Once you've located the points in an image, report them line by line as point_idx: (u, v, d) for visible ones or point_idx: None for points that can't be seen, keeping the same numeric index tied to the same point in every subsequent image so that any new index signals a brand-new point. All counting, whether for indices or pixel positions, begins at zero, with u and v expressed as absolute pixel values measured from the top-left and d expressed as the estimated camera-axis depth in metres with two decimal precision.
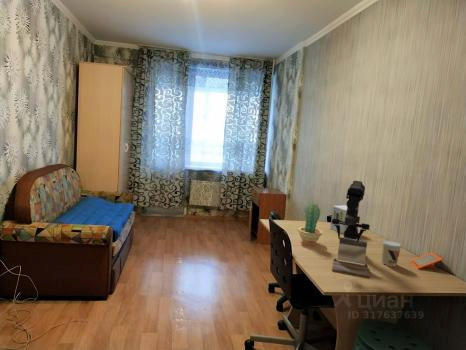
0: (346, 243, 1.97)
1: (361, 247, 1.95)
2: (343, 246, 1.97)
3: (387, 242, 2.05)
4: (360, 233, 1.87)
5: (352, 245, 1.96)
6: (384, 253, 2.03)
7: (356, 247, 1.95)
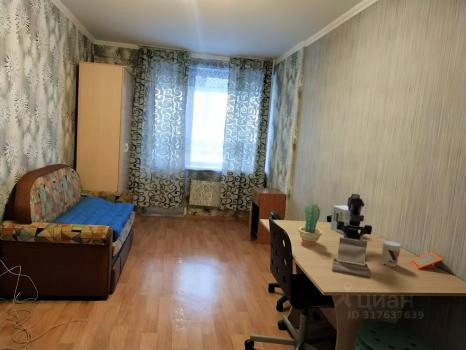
0: (346, 243, 1.97)
1: (361, 247, 1.95)
2: (343, 246, 1.97)
3: (387, 242, 2.05)
4: (361, 232, 2.01)
5: (352, 245, 1.96)
6: (384, 253, 2.03)
7: (356, 247, 1.96)
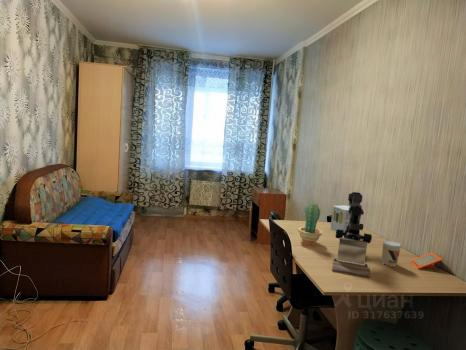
0: (346, 244, 1.96)
1: (361, 248, 1.94)
2: (343, 247, 1.97)
3: (387, 242, 2.05)
4: None
5: (352, 246, 1.95)
6: (384, 253, 2.03)
7: (356, 248, 1.95)
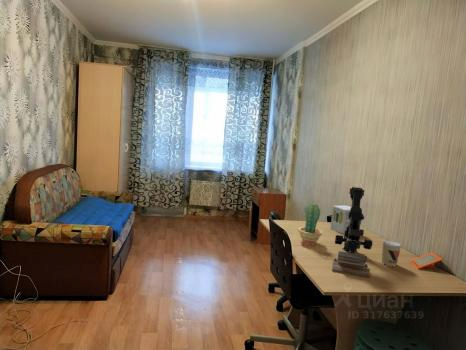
0: (345, 257, 1.90)
1: (360, 260, 1.88)
2: (342, 258, 1.92)
3: (387, 242, 2.05)
4: (355, 247, 1.92)
5: (351, 259, 1.89)
6: (384, 253, 2.03)
7: (355, 260, 1.89)
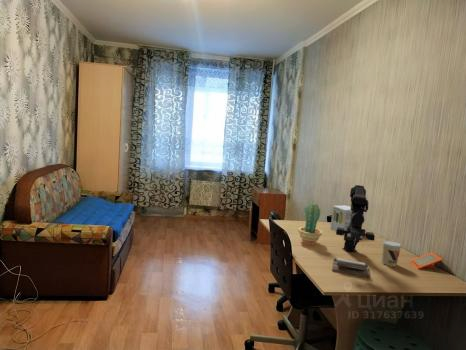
0: None
1: None
2: None
3: (387, 242, 2.05)
4: (356, 241, 1.87)
5: None
6: (384, 253, 2.03)
7: None
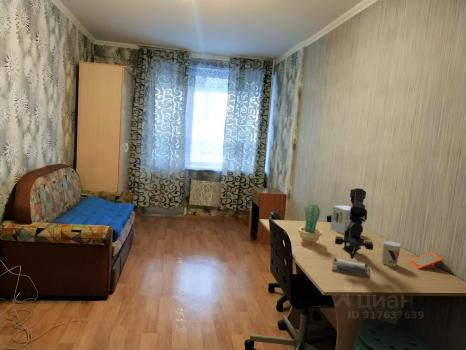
0: None
1: None
2: None
3: (387, 242, 2.05)
4: (355, 251, 1.88)
5: None
6: (384, 253, 2.03)
7: None
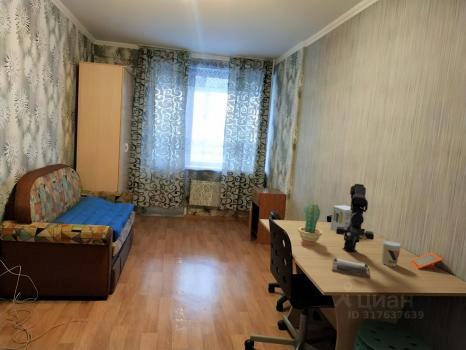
0: None
1: None
2: None
3: (387, 242, 2.05)
4: (355, 240, 1.92)
5: None
6: (384, 253, 2.03)
7: None
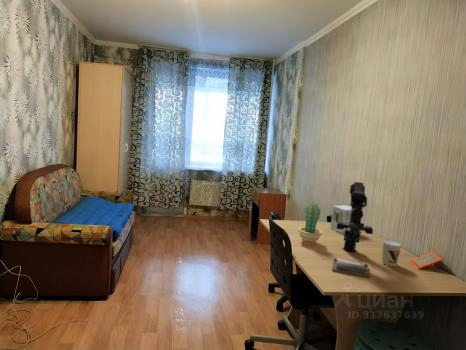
0: None
1: None
2: None
3: (387, 242, 2.05)
4: (355, 235, 1.99)
5: None
6: (384, 253, 2.03)
7: None
